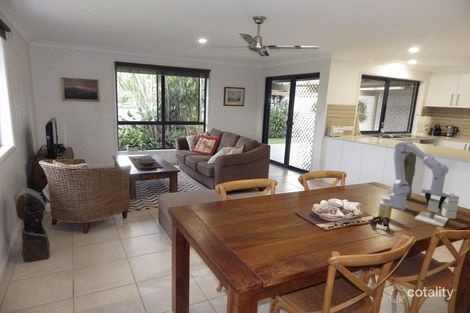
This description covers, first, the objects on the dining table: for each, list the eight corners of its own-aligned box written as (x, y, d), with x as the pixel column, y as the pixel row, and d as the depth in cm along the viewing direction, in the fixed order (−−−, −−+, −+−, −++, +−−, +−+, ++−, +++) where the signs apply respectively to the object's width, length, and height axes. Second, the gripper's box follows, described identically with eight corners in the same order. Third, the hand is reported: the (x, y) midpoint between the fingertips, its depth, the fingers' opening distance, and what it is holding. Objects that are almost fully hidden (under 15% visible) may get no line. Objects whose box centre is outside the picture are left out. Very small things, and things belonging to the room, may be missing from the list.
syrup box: (455, 219, 174) (460, 196, 171) (444, 218, 175) (449, 195, 172) (450, 215, 180) (455, 193, 177) (440, 214, 181) (444, 192, 178)
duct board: (414, 219, 171) (415, 212, 170) (421, 212, 182) (422, 206, 181) (442, 227, 161) (444, 219, 161) (448, 219, 173) (449, 212, 172)
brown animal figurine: (386, 236, 149) (379, 221, 150) (371, 236, 157) (364, 222, 158) (397, 225, 155) (390, 211, 156) (382, 226, 163) (375, 213, 164)
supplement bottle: (389, 217, 173) (392, 197, 171) (391, 221, 167) (394, 200, 165) (377, 215, 175) (379, 195, 173) (378, 219, 169) (381, 198, 167)
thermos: (414, 198, 210) (421, 151, 204) (404, 200, 205) (412, 152, 198) (402, 194, 218) (409, 149, 211) (392, 196, 212) (399, 150, 206)
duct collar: (427, 209, 171) (428, 200, 170) (429, 207, 174) (430, 198, 173) (437, 212, 167) (438, 202, 166) (439, 210, 171) (440, 200, 169)
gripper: (421, 183, 170) (417, 205, 173) (451, 189, 160) (447, 212, 163) (424, 181, 175) (420, 202, 177) (453, 187, 165) (449, 209, 167)
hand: (433, 207), depth 170 cm, fingers closed on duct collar, 5 cm apart
